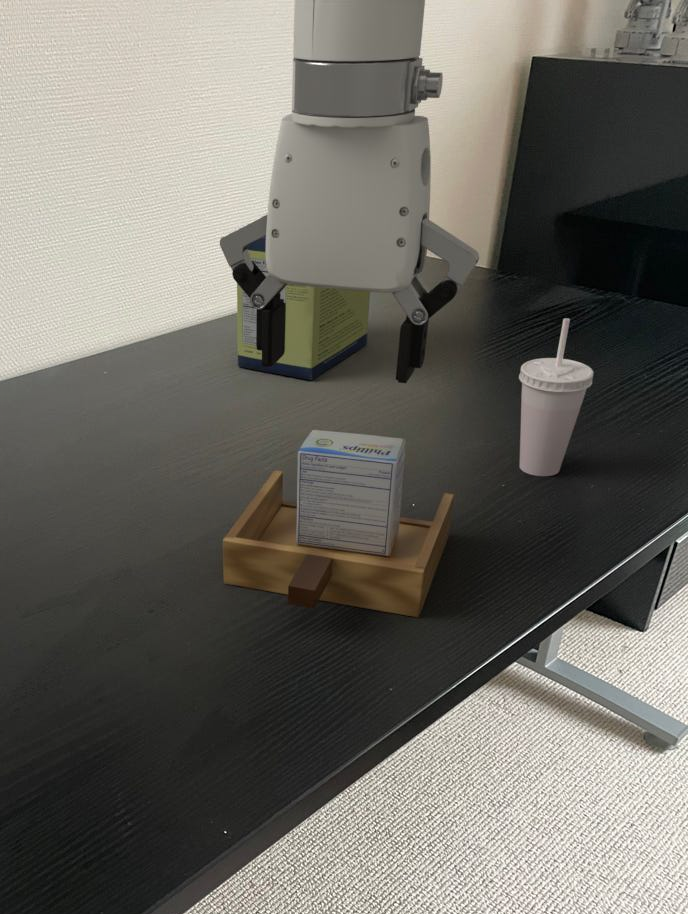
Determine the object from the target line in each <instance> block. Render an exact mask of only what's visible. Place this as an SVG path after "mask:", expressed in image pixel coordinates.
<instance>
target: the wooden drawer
mask: <svg viewBox="0 0 688 914" xmlns="http://www.w3.org/2000/svg"><path fill="white" fill-rule="evenodd" d="M283 483H284V471H281V470H273V472H272V473H271V475H269V477H268V479H267V480H266V481H265V483H264V484H263V485H262V487H261V488H260V489H259V491H258V492H257V494H256V495H255V496H254V498H253V499H252V500H251V502H250V503H249V504H248V505H247V507H246V508H245V509H244V511H243V513H242V514H241V515H240V516H239V517H238V519H237V520H236V522H235V523H234V524H233V526H232V527H231V528H230V530H229V531H228V532H227V534H226V535H225V537H224V538H223V539H222V561H223V563H222V566H223V567H222V568H223V584H225V585H230V586H234V587H235V586H236V587H241V588H246V589H253V590H259V591H263V592H270V593H276V594H282V595H287V604H288V605H292V606H297V607H302V608H309V609H315V608H316V606H317V605H318V602H319V601H321V602H326V603H332V604H338V605H345V606H349V607H356V608H361V609H367V610H374V611H378V612H383V613H384V612H385V613H389V614H390V613H391V614H394V615H395V614H396V615H403V616H407V617H412V618H419V617H420V615H421V612H422V610H423V607H424V604H425V602H426V599H427V596H428V593H429V591H430V589H431V585H432V582H433V580H434V577H435V574H436V572H437V569H438V567H439V564H440V561H441V558H442V555H443V553H444V550H445V547H446V546H447V545H446V544H447V542H448V540H449V536H450V532H451V520H452V512H453V506H454V497H455V494H454V493H447V492H444V493H443V494H442V495H443V496H442V498H441V500H440V502H439V505H438V506H437V510H436V513H435V515H434V517H433V520H432V521H430V520H425V519H417V518H410V517H403V516H400V522H399V532H398V535H397V537H396V540H395V543H394V546H393V548H392V551H391V554H390V556H384V555H376V554H369V553H361V552H353V551H346V550H338V549H330V548H323V547H315V546H307V545H299V544H297V543H296V529H297V501H292V500H291V501H290V500H285V499H284V498H283V497H284V496H283V494H284V493H283V492H284V490H283V489H284V484H283Z"/></svg>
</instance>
